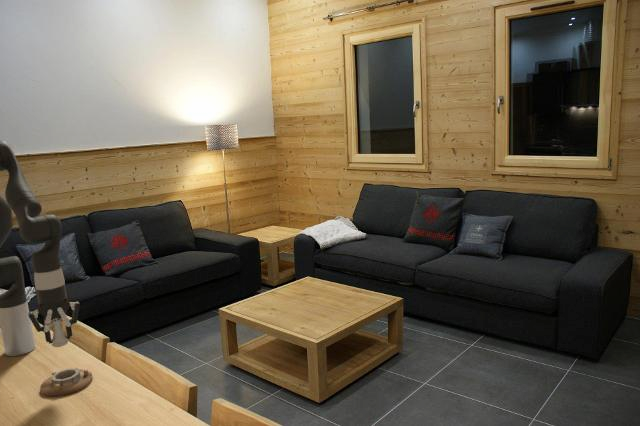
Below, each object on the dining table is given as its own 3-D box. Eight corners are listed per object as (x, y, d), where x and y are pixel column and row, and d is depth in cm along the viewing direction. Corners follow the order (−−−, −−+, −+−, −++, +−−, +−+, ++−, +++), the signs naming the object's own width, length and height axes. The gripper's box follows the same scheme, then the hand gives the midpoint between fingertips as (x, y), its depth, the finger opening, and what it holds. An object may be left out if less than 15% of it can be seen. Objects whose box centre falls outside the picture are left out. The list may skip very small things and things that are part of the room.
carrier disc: (39, 382, 163) (37, 372, 162) (88, 368, 170) (87, 359, 169) (42, 402, 151) (40, 391, 150) (95, 386, 158) (94, 376, 157)
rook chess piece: (72, 341, 159) (67, 316, 158) (60, 348, 155) (55, 322, 154) (60, 340, 161) (55, 315, 159) (48, 347, 157) (43, 321, 155)
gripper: (75, 276, 161) (84, 330, 165) (21, 286, 154) (31, 342, 158) (78, 282, 155) (87, 338, 158) (22, 293, 148) (33, 351, 151)
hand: (59, 340), depth 158 cm, fingers closed on rook chess piece, 4 cm apart
